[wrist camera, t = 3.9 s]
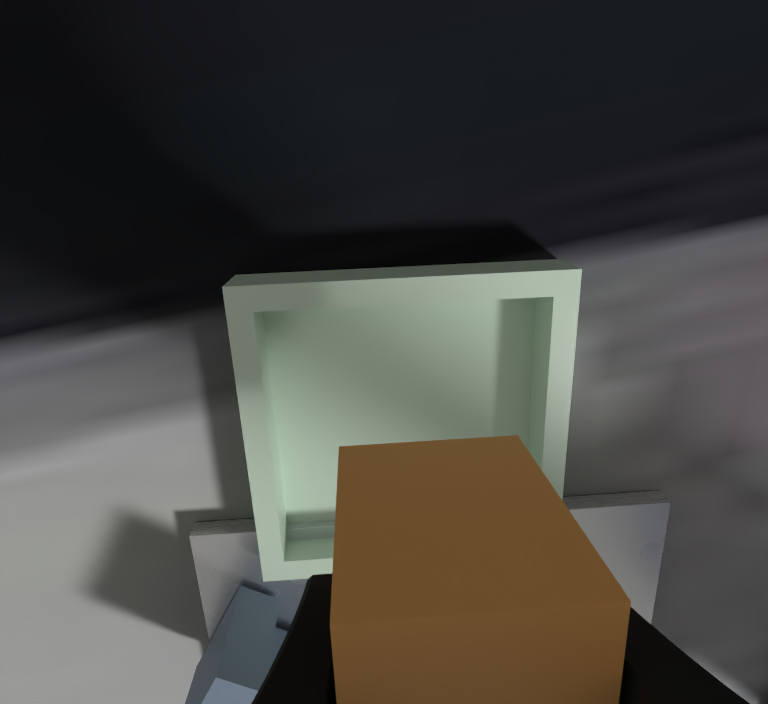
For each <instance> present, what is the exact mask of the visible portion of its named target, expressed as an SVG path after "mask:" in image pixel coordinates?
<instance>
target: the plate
mask: <svg viewBox="0 0 768 704" xmlns="http://www.w3.org/2000/svg"><path fill="white" fill-rule="evenodd" d="M562 501H563V502H564V504H565V505H566V507H567V508H568V510H569V511H570V513H571V514H572V515H573V517H574V518H575V520H576V521H577V523H578V524H579V526H580V527H581V529H582V530H583V532H584V533H585V535H586V536H587V537H588V539H589V540H590V542H591V543H592V545H593V546H594V548H595V549H596V551H597V552H598V554H599V555H600V557H601V558H602V559H603V561H604V562H605V564H606V565H607V567H608V568H609V570H610V571H611V573H612V574H613V576H614V577H615V579H616V580H617V581H618V583H619V584H620V586H621V587H622V589H623V590H624V592H625V593H626V595H627V596H628V598H629V599H630V600H631V607H632V608H633V609H634V610H635V611H636V612H637V613H638V614H640V615H641V616H642V617H643V618H644V619H645V620H646V621H648V622H649V623H650V624H651V622H652V616H653V610H654V604H655V597H656V591H657V585H658V579H659V573H660V567H661V561H662V554H663V548H664V542H665V536H666V530H667V524H668V518H669V511H670V505H671V502H670V501H669V500H668V499H667V498H666V497H665V496H664V495H663V494H662V493H661V492H660V491H645V492H630V493H616V494H601V495H587V496H572V497H563V500H562ZM334 532H335V519H334V520H319V521H305V522H290V523H287V527H286V533H287V541H293V540H307V539H321V538H334ZM189 538H190V543H191V548H192V554H193V559H194V564H195V569H196V575H197V580H198V585H199V590H200V596H201V601H202V606H203V611H204V617H205V622H206V627H207V632H208V638H209V643H210V641H211V639H212V637H213V636H214V634H215V632H216V630H217V628H218V626H219V624H220V623H221V621H222V619H223V617H224V615H225V613H226V612H227V610H228V608H229V606H230V604H231V602H232V600H233V599H234V597H235V595H236V593H237V591H238V589H239V587H240V586H243V587H246V588H249V589H252V590H255V591H257V592H260V593H263V594H266V595H269V596H271V597H274V598H277V599H280V602H279V608H278V614H277V620H276V626H275V627H277V628H279V629H282V630H285V631H288V630H289V628H290V625H291V623H292V621H293V618H294V616H295V613H296V611H297V608H298V606H299V603H300V601H301V598H302V595H303V592H304V589H305V586H306V582H307V580H308V579H309V578H307V579H294V580H280V581H267V582H263V576H262V569H261V562H260V554H259V547H258V540H257V533H256V526H255V519H240V520H225V521H211V522H196V523H195V525H194V527H193V529H192V531H191V534H190V536H189Z"/></svg>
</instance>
